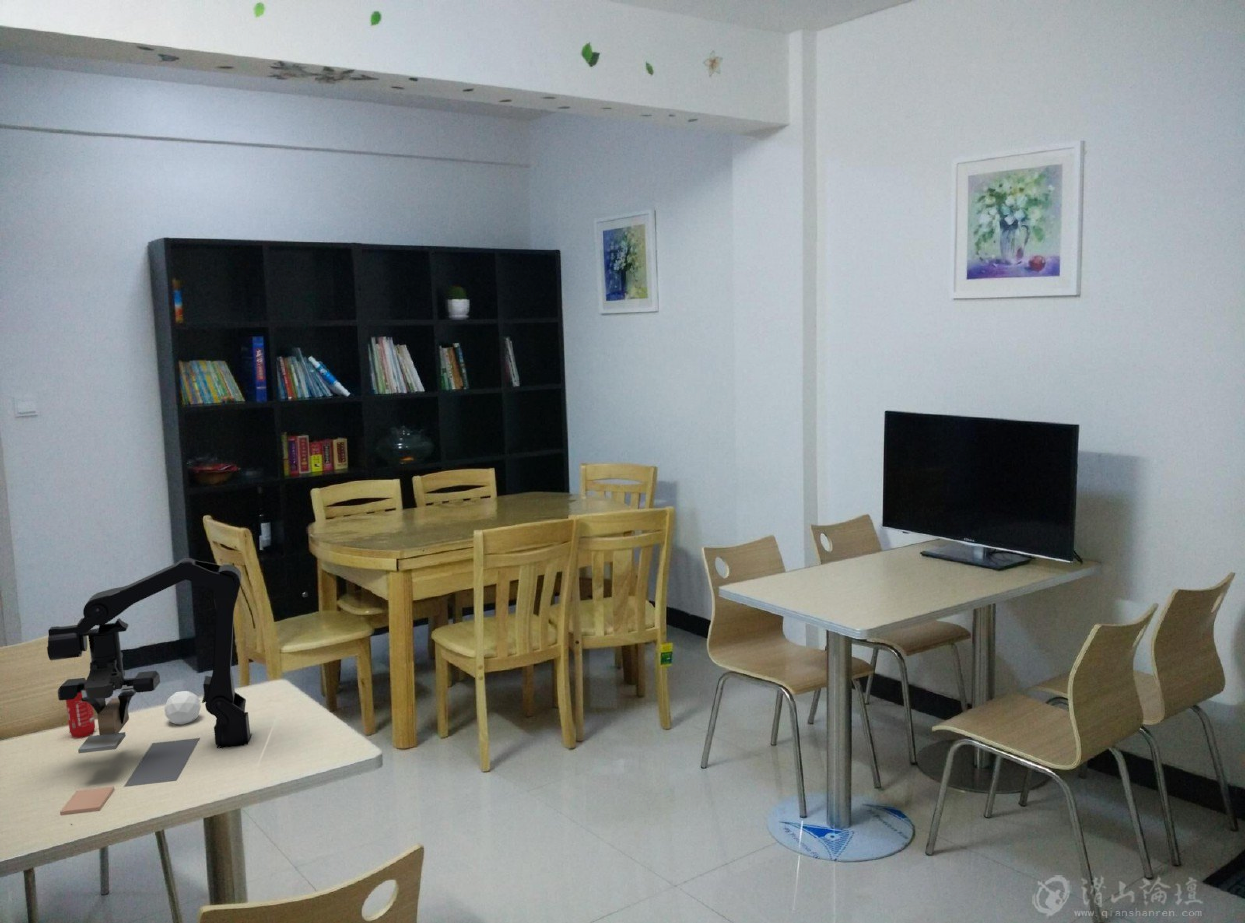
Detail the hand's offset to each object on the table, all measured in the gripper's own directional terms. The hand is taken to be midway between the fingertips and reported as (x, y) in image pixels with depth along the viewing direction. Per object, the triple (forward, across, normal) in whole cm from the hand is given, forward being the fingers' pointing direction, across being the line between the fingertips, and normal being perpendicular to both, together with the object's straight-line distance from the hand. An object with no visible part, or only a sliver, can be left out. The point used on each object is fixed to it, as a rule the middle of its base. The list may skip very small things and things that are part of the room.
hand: (114, 724), depth 219 cm
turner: (+1, 0, -4) cm, 4 cm away
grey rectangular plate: (+8, +10, -4) cm, 14 cm away
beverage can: (+9, -13, +19) cm, 25 cm away
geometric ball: (+9, +9, +19) cm, 23 cm away
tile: (+8, 0, -16) cm, 18 cm away
